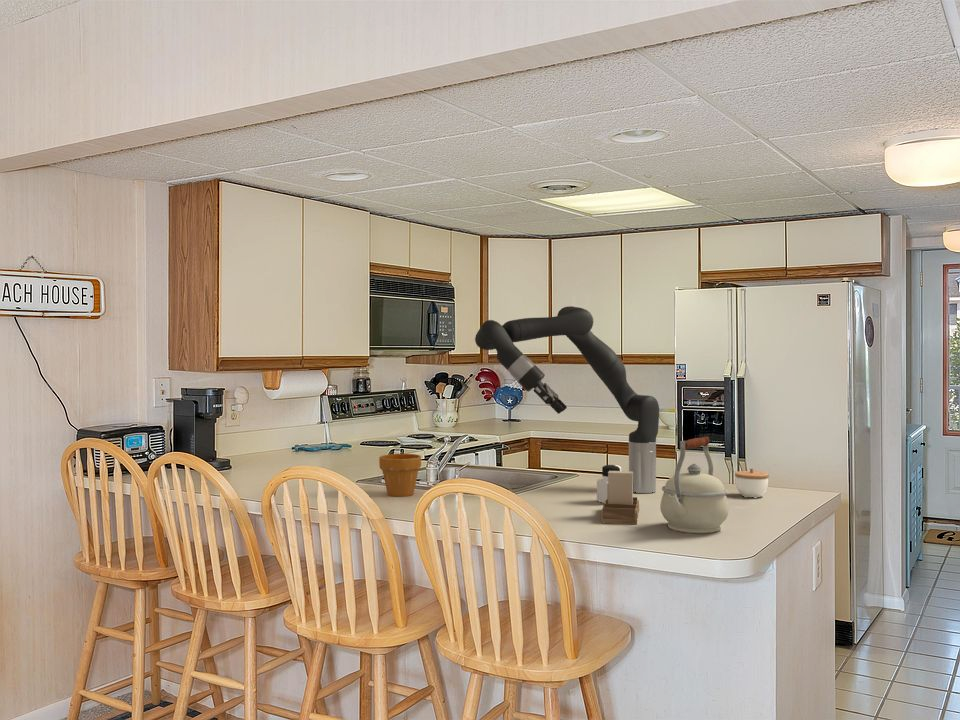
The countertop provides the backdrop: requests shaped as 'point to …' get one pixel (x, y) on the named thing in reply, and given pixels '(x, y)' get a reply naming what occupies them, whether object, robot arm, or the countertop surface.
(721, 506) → the kettle
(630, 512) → the rack
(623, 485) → the tall beige block
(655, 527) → the countertop surface
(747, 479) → the lidded jar
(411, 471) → the flower pot
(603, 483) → the medicine bottle
